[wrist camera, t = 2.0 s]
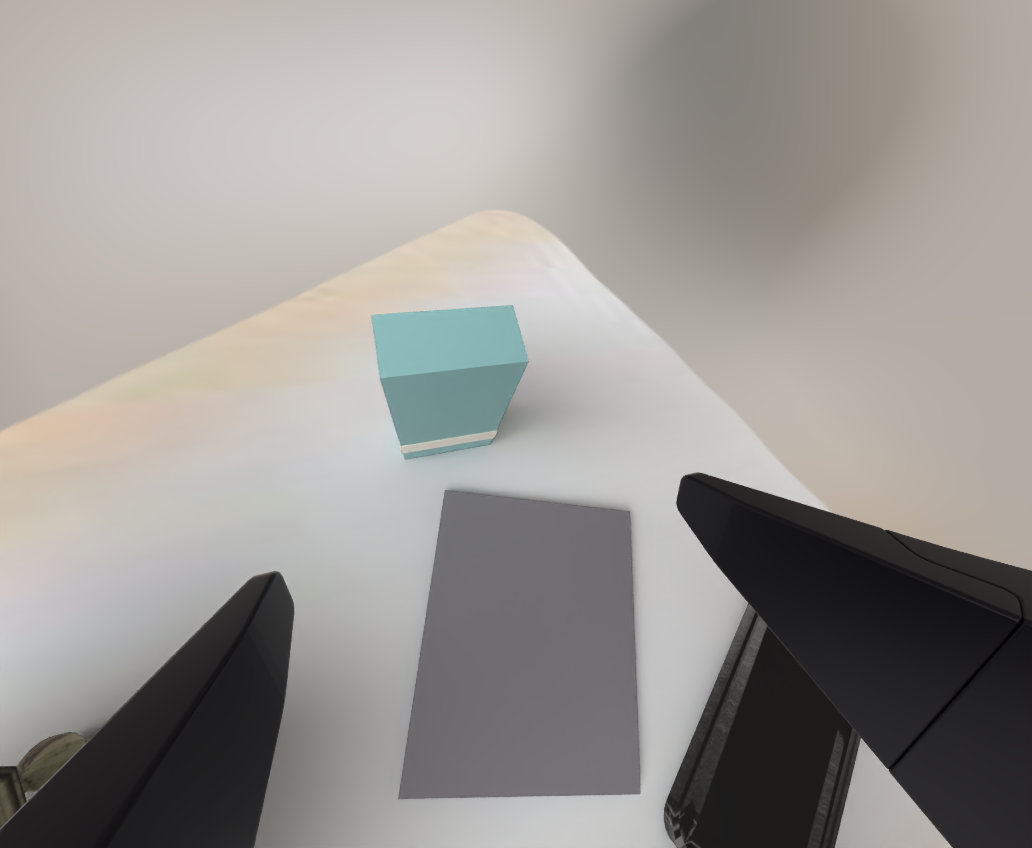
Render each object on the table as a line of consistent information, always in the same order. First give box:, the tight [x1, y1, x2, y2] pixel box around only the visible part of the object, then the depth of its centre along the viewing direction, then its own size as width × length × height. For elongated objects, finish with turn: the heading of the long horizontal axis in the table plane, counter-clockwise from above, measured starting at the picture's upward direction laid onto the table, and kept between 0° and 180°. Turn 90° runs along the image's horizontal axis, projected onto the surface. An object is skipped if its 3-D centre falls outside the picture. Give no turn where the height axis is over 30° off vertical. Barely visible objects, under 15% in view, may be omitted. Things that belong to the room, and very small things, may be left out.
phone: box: [664, 603, 861, 848], centre depth 19 cm, size 8×1×15 cm
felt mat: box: [398, 490, 640, 799], centre depth 19 cm, size 13×11×1 cm
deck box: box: [371, 305, 529, 459], centre depth 17 cm, size 2×5×10 cm, turn 103°
